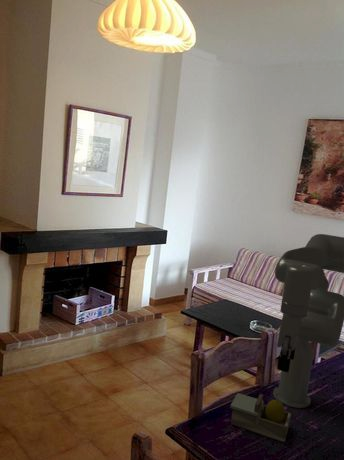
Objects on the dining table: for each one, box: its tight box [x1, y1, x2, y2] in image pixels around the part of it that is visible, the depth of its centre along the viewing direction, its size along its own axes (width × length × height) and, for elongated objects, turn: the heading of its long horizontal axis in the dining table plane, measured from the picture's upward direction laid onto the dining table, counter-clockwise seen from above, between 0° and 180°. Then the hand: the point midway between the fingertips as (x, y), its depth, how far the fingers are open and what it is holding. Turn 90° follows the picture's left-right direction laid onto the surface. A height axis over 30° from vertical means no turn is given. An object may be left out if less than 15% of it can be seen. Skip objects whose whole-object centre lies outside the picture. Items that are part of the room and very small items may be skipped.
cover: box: [229, 392, 264, 417], centre depth 127 cm, size 9×8×3 cm
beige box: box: [230, 403, 292, 443], centre depth 126 cm, size 9×16×4 cm, turn 67°
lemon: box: [265, 399, 286, 424], centre depth 124 cm, size 6×6×8 cm
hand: (285, 364), depth 122 cm, fingers open, 9 cm apart
